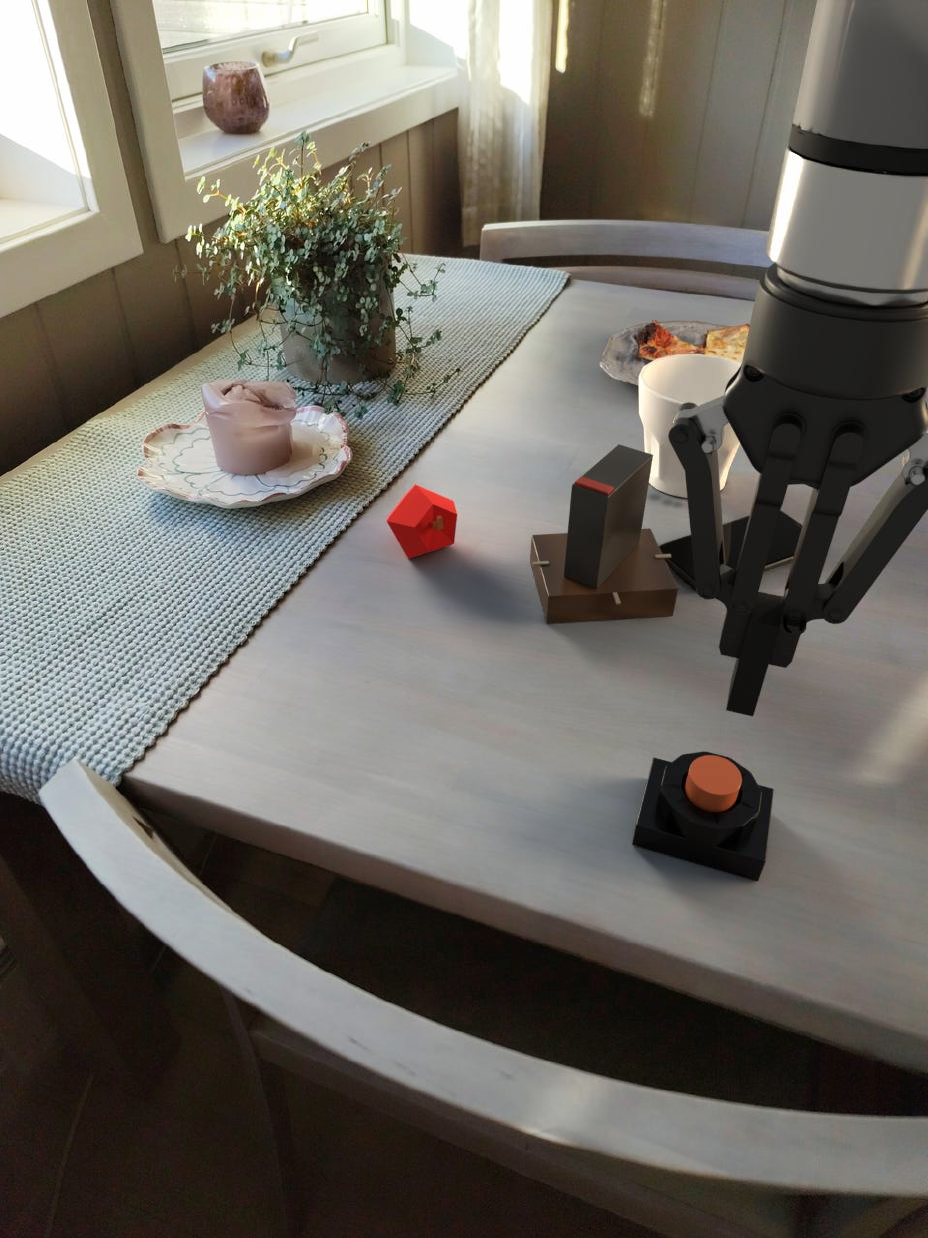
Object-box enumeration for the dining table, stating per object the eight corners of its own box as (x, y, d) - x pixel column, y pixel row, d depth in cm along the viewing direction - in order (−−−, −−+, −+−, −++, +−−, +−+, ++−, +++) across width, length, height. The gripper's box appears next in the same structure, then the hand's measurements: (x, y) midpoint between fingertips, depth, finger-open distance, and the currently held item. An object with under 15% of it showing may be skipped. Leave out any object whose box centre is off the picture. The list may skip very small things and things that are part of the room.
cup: (607, 456, 95) (619, 359, 88) (711, 442, 97) (730, 347, 90) (654, 516, 86) (672, 414, 79) (767, 500, 88) (794, 399, 81)
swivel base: (647, 544, 82) (652, 516, 80) (685, 627, 73) (691, 598, 71) (520, 551, 81) (522, 523, 79) (542, 636, 72) (544, 607, 70)
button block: (766, 808, 59) (780, 770, 56) (758, 882, 54) (772, 844, 52) (648, 777, 61) (657, 738, 58) (631, 846, 56) (639, 807, 54)
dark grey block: (607, 532, 78) (618, 441, 72) (639, 544, 77) (654, 451, 71) (563, 576, 73) (571, 482, 67) (596, 589, 72) (608, 494, 66)
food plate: (617, 326, 124) (619, 302, 121) (786, 344, 119) (792, 318, 116) (588, 402, 105) (591, 375, 103) (787, 426, 100) (795, 398, 98)
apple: (371, 480, 81) (404, 491, 74) (437, 477, 84) (474, 487, 77) (372, 553, 83) (404, 570, 76) (436, 547, 86) (473, 563, 79)
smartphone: (701, 596, 76) (829, 550, 81) (702, 588, 76) (831, 543, 81) (650, 552, 81) (774, 512, 86) (652, 545, 81) (776, 505, 86)
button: (738, 780, 56) (744, 762, 55) (733, 818, 53) (738, 801, 52) (688, 767, 57) (693, 749, 56) (681, 804, 54) (685, 786, 53)
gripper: (1028, 260, 35) (863, 680, 50) (705, 231, 39) (640, 633, 54) (1060, 325, 30) (863, 774, 45) (680, 285, 33) (615, 715, 48)
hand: (741, 697), depth 49 cm, fingers closed
